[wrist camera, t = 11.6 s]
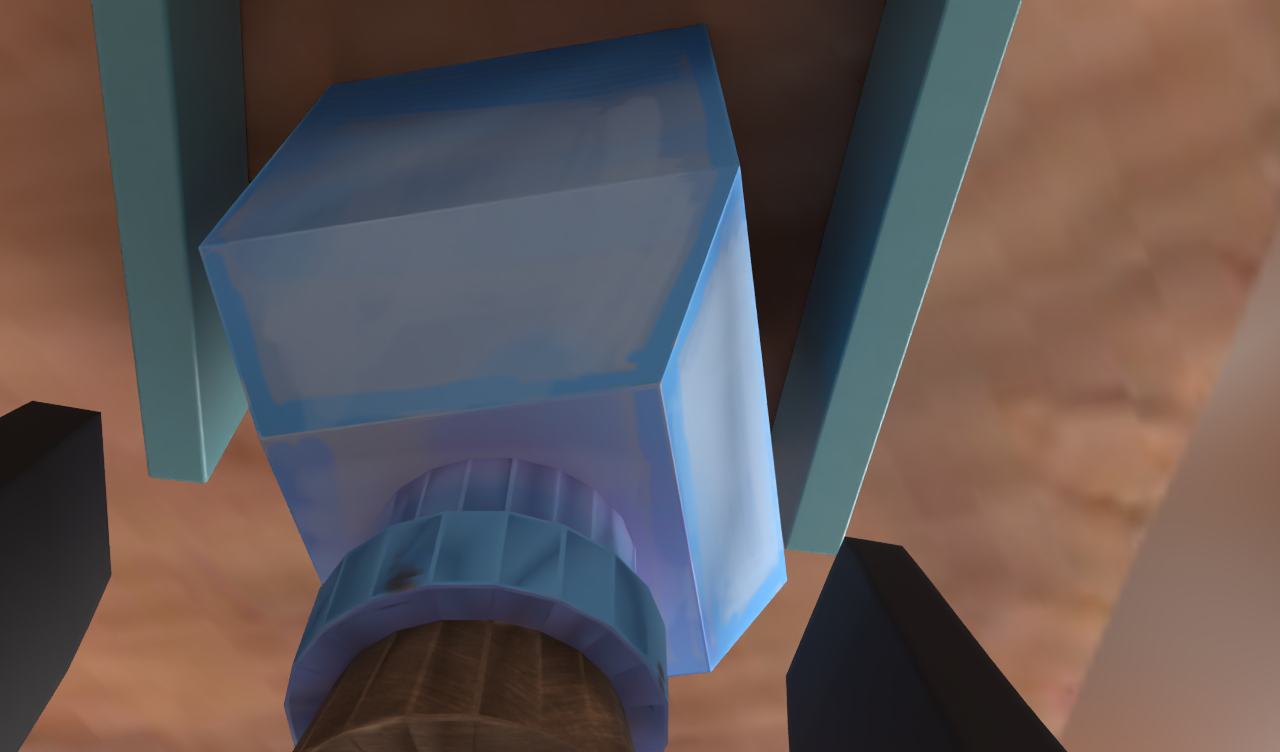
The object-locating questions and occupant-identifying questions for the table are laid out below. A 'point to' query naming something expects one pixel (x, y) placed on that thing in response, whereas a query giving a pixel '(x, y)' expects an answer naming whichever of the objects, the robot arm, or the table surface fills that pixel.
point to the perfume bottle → (509, 395)
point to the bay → (836, 304)
